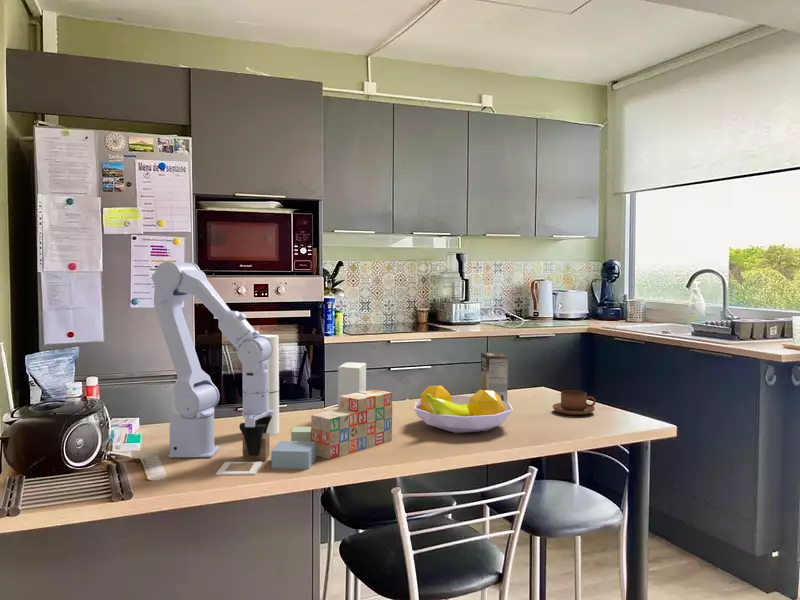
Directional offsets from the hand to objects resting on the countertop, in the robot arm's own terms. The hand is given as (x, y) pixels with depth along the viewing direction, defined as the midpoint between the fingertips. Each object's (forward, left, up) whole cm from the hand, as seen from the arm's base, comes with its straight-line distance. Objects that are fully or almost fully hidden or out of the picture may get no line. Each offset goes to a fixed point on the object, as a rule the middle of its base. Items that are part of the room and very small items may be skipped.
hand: (256, 451), depth 146 cm
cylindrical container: (-2, +23, -2) cm, 23 cm away
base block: (+9, -4, -2) cm, 10 cm away
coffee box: (+63, +54, -2) cm, 83 cm away
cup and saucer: (+85, +44, -2) cm, 96 cm away
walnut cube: (0, 0, -1) cm, 1 cm away
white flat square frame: (-2, -8, -1) cm, 8 cm away
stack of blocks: (+21, +8, -2) cm, 23 cm away
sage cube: (+10, +6, -2) cm, 12 cm away
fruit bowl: (+49, +27, -2) cm, 56 cm away
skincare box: (+20, +37, -2) cm, 42 cm away
